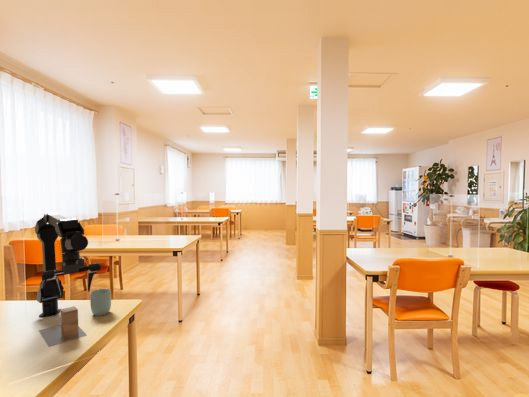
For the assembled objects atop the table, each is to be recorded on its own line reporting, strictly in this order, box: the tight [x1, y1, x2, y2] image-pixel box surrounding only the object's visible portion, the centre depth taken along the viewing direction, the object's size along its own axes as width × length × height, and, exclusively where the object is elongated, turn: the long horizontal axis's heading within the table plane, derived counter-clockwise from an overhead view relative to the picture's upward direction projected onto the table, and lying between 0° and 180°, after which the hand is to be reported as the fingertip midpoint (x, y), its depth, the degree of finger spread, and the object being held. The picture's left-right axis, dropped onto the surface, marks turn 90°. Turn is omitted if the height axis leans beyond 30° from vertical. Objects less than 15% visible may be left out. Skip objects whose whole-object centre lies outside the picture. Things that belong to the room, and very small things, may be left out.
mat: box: [38, 324, 88, 348], centre depth 123 cm, size 18×12×1 cm, turn 44°
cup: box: [89, 288, 112, 317], centre depth 142 cm, size 8×8×10 cm
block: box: [59, 305, 79, 340], centre depth 120 cm, size 5×4×10 cm
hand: (74, 294), depth 123 cm, fingers open, 9 cm apart
